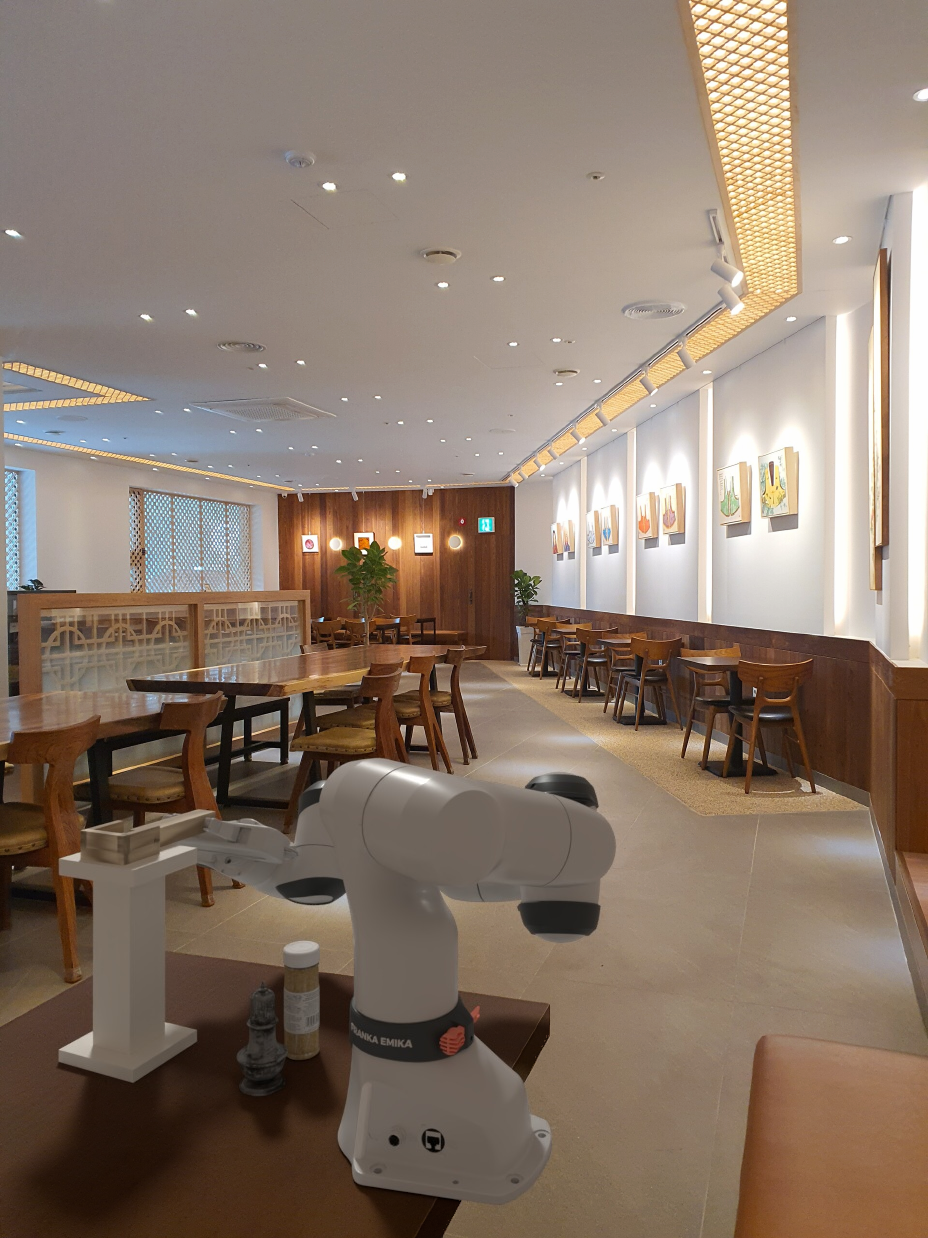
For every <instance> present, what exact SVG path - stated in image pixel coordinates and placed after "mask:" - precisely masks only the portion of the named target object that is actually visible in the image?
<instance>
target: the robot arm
mask: <svg viewBox="0 0 928 1238" xmlns="http://www.w3.org/2000/svg"><path fill="white" fill-rule="evenodd" d="M597 809H599V800H598V797H597V792H596V790H595V787H594V786H593V784H591V783H590V782H589V780H587V779H586V778H585V777H583V776H581V775H576V774H574V773H569V772H566V771H553V772H548V773H545V774H542V775H541V774H540V775H537V776H534V777H533V778H531V780H529V782H528V783H527V784H526V785H525V786H524V787H520V786H516V785H510V784H505V783H500V782H495V781H494V782H492V781H487V780H482V779H481V780H480V779H476V778H471V777H465V776H462V775H455V774H452V773H451V774H450V773H447V772H442V771H438V770H434V769H429V768H425V767H421V766H417V765H413V764H409V763H405V762H401V761H395V760H391V759H388V758H382V757H374V758H364V759H358V760H352V761H348V762H346V763H344V764H342V765H340V766H339V767H337V768H336V769H334V771H332V773H331V774H330V775H329V776H328V778H327V779H325V780H324V779H323V780H318V781H316V782H313V784H312V785H310V786H309V787H308V788H306V789H305V790H304V791H303V792H302V793H301V795H299V797H298V809H297V812H298V813H297V824H296V830H295V837H294V842H293V841H291V839H290V838H288V836H286V835H285V834H284V833H283V832H281V831H280V830H279V829H276V828H273V827H271V826H266V825H265V824H263V823H261V822H259V821H257V820H255V819H253V818H241V819H238V820H230V821H225V820H220V819H218V818H217V817H215V818H209V817H207V818H205V821H204V822H205V823H204V824H203V827H202V828H203V830H205V831H206V832H205V833H202V834H199V835H196V836H193V837H190V838H187V839H184V840H181V841H178V842H175V843H172V844H173V845H180V846H188V847H195V848H197V864H194V865H196V866H198V867H202V868H206V869H209V870H212V871H216V872H218V873H220V874H221V875H223V876H225V877H227V878H230V879H232V880H234V881H236V882H239V883H241V884H243V885H246V886H250V887H252V888H253V889H254V890H256V891H258V892H259V893H262V894H264V895H267V896H269V897H273V898H276V899H281V900H285V901H286V900H287V901H289V902H292V903H294V904H298V905H304V906H325V905H329V904H332V903H334V902H336V901H337V900H339V899H340V898H341V897H343V896H344V895H346V899H347V903H348V908H349V914H350V919H351V920H350V922H351V927H352V937H353V939H352V941H353V945H352V946H353V947H352V948H353V949H352V950H353V996H352V998H351V999H350V1004H349V1021H348V1023H349V1027H348V1028H349V1030H348V1032H349V1033H348V1034H349V1036H348V1037H349V1042H350V1048H351V1053H352V1054H351V1064H350V1065H351V1066H350V1075H349V1082H348V1088H347V1094H346V1095H347V1096H346V1100H345V1106H344V1109H343V1114H342V1117H341V1121H340V1125H339V1128H338V1131H337V1142H338V1145H339V1148H340V1149H341V1151H342V1152H343V1154H344V1155H345V1156H346V1158H347V1159H348V1160H349V1162H350V1164H351V1172H352V1173H351V1174H352V1179H353V1180H354V1182H355V1183H357V1184H358V1185H361V1186H367V1187H374V1188H380V1189H386V1190H391V1191H392V1190H393V1191H399V1192H406V1193H407V1192H408V1193H411V1194H412V1193H414V1194H419V1195H420V1194H421V1195H425V1196H432V1197H440V1198H446V1199H453V1200H458V1201H465V1202H466V1201H467V1202H471V1203H478V1204H486V1205H492V1206H504V1205H506V1204H509V1203H511V1202H513V1201H515V1200H517V1199H518V1198H519V1197H521V1196H522V1195H524V1194H525V1193H526V1192H527V1191H528V1190H530V1188H532V1187H533V1185H534V1184H535V1183H536V1182H537V1180H538V1179H539V1178H540V1176H541V1175H542V1173H543V1171H544V1170H545V1168H546V1166H547V1164H548V1162H549V1160H550V1156H551V1155H552V1150H553V1138H552V1131H551V1130H552V1129H551V1126H550V1124H549V1122H548V1121H547V1120H546V1119H544V1118H542V1117H539V1116H537V1115H534V1114H532V1113H531V1109H530V1102H529V1097H528V1093H527V1089H526V1086H525V1084H524V1081H523V1079H522V1078H521V1076H520V1075H519V1074H518V1073H517V1072H516V1071H514V1070H513V1069H512V1068H511V1067H510V1066H509V1065H508V1064H506V1062H504V1060H503V1059H501V1058H500V1057H499V1056H498V1055H497V1054H496V1053H494V1052H493V1051H492V1050H491V1049H490V1048H489V1047H488V1046H487V1045H486V1044H485V1043H484V1042H483V1041H481V1039H479V1038H478V1037H477V1036H476V1035H475V1023H476V1022H477V1021H478V1020H479V1019H480V1016H481V1015H480V1010H481V1006H480V1005H478V1006H476V1007H475V1008H474V1009H473V1010H472V1011H471V1012H469V1010H468V1009H467V1008H466V1006H465V1004H464V1002H463V999H462V997H461V995H460V994H459V930H458V929H459V928H458V926H457V921H456V919H455V917H454V915H453V912H452V911H451V909H450V908H449V906H448V905H447V903H446V901H445V899H444V897H443V895H444V896H446V897H448V898H450V899H451V900H454V901H455V900H456V901H461V902H467V903H503V902H513V901H516V902H517V901H520V903H518V905H517V906H516V909H517V911H518V912H519V913H520V918H521V921H522V924H523V926H524V927H525V929H526V930H527V931H528V932H529V933H530V935H535V936H537V937H538V938H539V939H542V940H543V941H547V942H550V943H551V942H552V943H555V944H566V943H573V942H576V941H578V940H581V939H582V938H584V937H588V936H591V934H592V933H594V932H595V931H596V930H597V928H598V925H599V920H600V914H601V907H602V906H601V905H600V903H599V901H600V900H599V899H600V893H601V892H600V890H601V888H600V886H601V879H602V878H603V877H604V876H605V875H606V874H607V873H608V872H609V870H610V869H611V867H612V866H613V863H614V862H615V861H614V860H615V857H616V853H617V844H616V843H617V842H616V836H615V832H614V829H613V828H612V826H611V824H610V822H609V821H608V820H607V819H606V817H605V816H604V815H602V814H601V813H600V812H599V811H597ZM181 814H182V813H176V812H175V813H172V814H164V815H163V816H162V817H161V820H164V819H167V818H171V817H174V816H177V815H181Z"/></svg>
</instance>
